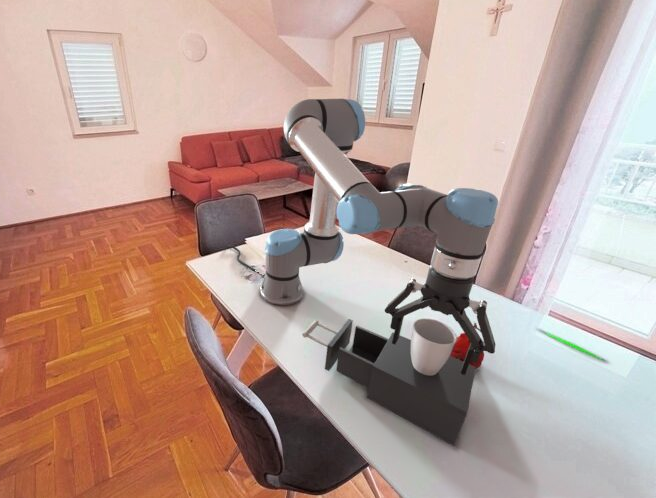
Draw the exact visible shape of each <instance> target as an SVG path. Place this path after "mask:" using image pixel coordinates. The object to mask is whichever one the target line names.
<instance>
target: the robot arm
mask: <svg viewBox="0 0 656 498" xmlns="http://www.w3.org/2000/svg"><path fill="white" fill-rule="evenodd" d="M365 128H366V115H365V111H364V109H363V107H362V105H361V104H360V103H359V102H358V101H357V100H356V99H355V100H354V99H349V98H307V99H304V100H301V101H299V102H297V103H295V104H294V105H293V106H292V107H291V108H290V109H289V111H287V114H286V115H285V118H284V122H283V133H284V135H283V136H284V137H285V140H286V142H287V144H288V145H289V146H290V148H291V149H293V150H294V151H295V152H299V154H300V155H301V156H302V157H303V158H304V160H305V161H306V162H307V163H308V165H309V166H310V167H311V169H312V170H313V171H314V179H313V187H312V196H311V204H310V213H309V215H310V216H309V220H308V221H307V222H306V223H305V224H304V229H303V232H300V231H299V230H297V229H294V228H281V229H277V230H274V231H272V232H271V233H270V234H269V235H268V236H267V238H266V240H265V241H266V242H265V249H264V250H265V273H263V274H264V275H263V276H262V277H263V279H262V282H261V285H260V296H261V298H262V299H263V300H264V301H266V302H267V303H269V304H272V305H276V306H291V305H294V304H296V303H298V302H299V301H301V300H302V298H303V295H304V287H303V284H302V282H301V277H300V268H303V267H308V266H309V267H310V266H315V265H321V264H328V263H330V262H335V261H337V260H339V258H340V257H341V256H342V254H343V251H344V247H345V245H344V244H345V243H344V240H343V239H344V237H343V235H342V233H341V231H340V229H341V230H342V231H343V232H345V233H346V234H348V235H365V234H366V235H368V234H372V233H377V232H383V231H388V230H395V229H402V228H409V227H416V226H417V227H420V228H422V229H425V230H427V231H429V232H431V233H434V234H437V236H436V240H435V245H434V248H433V253H432V256H431V260H430V265H429V269H428V272H427V275H426V280H425V283H424V284H422V283H419V282H417V279H415V278H413V277H412V278H410V280H408V283H407V284H406V286H405V288H404V289H403V290H402V291H401V292H399V294H397V296H395V297H394V298H393V299H392V300H391V301H390V302H389V303H388V304H387V305H386V306H385V308H384V312H385V313H386V314H389V315H391V321H390V326H389V327H390V329H392V330H394V331H393V333H394V336H393V340H392V344H396V342H397V340H398V339H399V335H400V336H401V330H402V326H403V322H404V318H405V317H406V316H407V315H409V314H411V313H414V312H417V311H419V310H424V309H425V308H428V307H429V308H430V310H431V311H434V312H439V313H441V314H443V315H445V316H451V315H452V317H453V319H454V320H455V322H457V323H458V325H459V327H460V328H461V330H462V331H463V333H465V334H466V336H467V338H468V339H469V341H470V342H471V343H470V346H469V349H468V351H467V354H466V357H465V360H464V363H463V365H462V370H461V374H463V375H465V374H466V371H467V368H468V365H469V363H470V361H472V362H474V363H476V362H478V359H479V356H480V354H481V353H482V351H484V352H486V353H488V354H494V353H495V352H496V341H495V338H494V334H493V331H492V327H491V324H490V321H489V318H488V313H487V306H488V302H487V301H486V300H484V299H482V300H480V301H477V300H473V299H470V294H471V291H472V288H473V285H474V282H475V276H476V275H477V273H478V269H479V266H480V263H481V262H482V261H481V260H482V258H483V253H484V249H485V246H486V244H487V241H488V239H489V236H490V232H491V229H492V227H493V226H494V224H495V222H496V221H495V220H496V218H495V217H496V213H497V208H498V205H499V199H498V197H497V195H495V194H493V193H492V192H489V191H486V190H482V189H475V188H471V187H469V188H468V187H458V188H457V187H456V188H453V189H451V190H450V191H449V192H448V194H447V193H444V192H441V191H437V190H434V189H431V188H428V187H427V186H424V185H422V184H414V183H404V184H402V185H400V186H399V187H397V188H396V189H395V190H392V191H381V192H380V191H379V190H378V189H377V188H376V187H375V186H374V185H373V184H372V182H371V181H369V180H368V179H367V178H366V176H365V175H364V174H363V173H362V172H361V171H360V169H358V168H357V167H356V165H355V164H354V163H353V162H352V161H351V160H350V159H349V157H347V155H348V153H349V152H351V151H353V149H354V148H353V147H354V142H357V141H358V140H360V139H361V137H362V136H363V135H364V132H365V130H366V129H365ZM336 220H338V226H339V227H338V226H337V225H336ZM339 228H340V229H339ZM226 248H227V249H229V248H232V249H234V250H235V251H237V253H238V254H237V256H236V261H237V262H238V263H239V264H241V265H242V266H244V267H246V268H248V269H250V270H251V271H253V270H257V269H256V268H254V267H252V266H250V265H249V264H247V263H245V262H244V261H242V260H240V256H241V250H240V249H239V248H238V247H236V246H234V245H231V244H230V245H227V247H226ZM251 267H252V268H251ZM418 291H419V292H420V293H421V295H422V296H420V297H419V298H418V299H416V300H414V301H411V302H409V303H407V304H405V305H402V306H400V307H398V306H399V305H400V304H402V303H403V302H404V301H405V300H406V299H407V298H408V297H409V296H410V295H411V294H414V293H415V294H416V292H418ZM467 308H470V309H471V310H472V312H473V313H474V314H475V315H476V320H477V324H478V328H479V329H480V330H481V332H480V334H481V336H482V337H481V336H480V334H479V333H478V331H477V329H475V328H474V324H473V322H472V321H471V320H470V318H469V317H468V315H467V313H466V310H465V309H467Z"/></svg>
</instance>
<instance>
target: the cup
mask: <svg viewBox="0 0 656 498" xmlns="http://www.w3.org/2000/svg"><path fill="white" fill-rule="evenodd" d="M410 336H411V337H410V340H411V359H412V364H413V367H414V368H415V369H416V370H417V371H418V372H420V373H422V374H424V375H429V376H432V375H435V374H436V373H437V372H438V371H439V370H440V369H441V368H442V367H443V366H444V364H445V363H446V361H447V360H448V358H449V356H450V354H451V352H452V350H453V347H454V345H455V342H456V340H457V337H458V336H457V333H456V332H455V330H454V329H453V328H452V327H450V326H449V325H448V324H446V323H444V322H442V321H439V320H436V319H433V318H419V319H416V320H415V321H414V322H413V325H412V330H411V335H410Z"/></svg>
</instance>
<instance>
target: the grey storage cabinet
mask: <svg viewBox="0 0 656 498" xmlns="http://www.w3.org/2000/svg"><path fill="white" fill-rule="evenodd" d="M393 336H394V331H393V332H391V334H390V336H389V337H388V338H387V339H388V341H387V343H386V344H385V346H384V348H383V350H382V351H381V353H380V355H379V357H378V358H377V360H376V362H375V364H374V365H373V369H372V374H371V380H370V385H369V388H368V390H367V395H366V398H367V399H369V400H370V401H372V402H374V403H376V404H378V405H379V406H381V407H383V408H385V409H386V410H388V411H390V412H392V413H393V414H396V415H397V416H399V417H401V418H403V419H405V420H407V421H408V422H410V423H412V424H413V425H415V426H417V427H419V428H421V429H422V430H424V431H426V432H428V433H430V434H432V435H433V436H435V437H437V438H439V439H440V440H442V441H444V442H445V443H447V444H449V445H451V446H452V447H455V445H456V443H457V440H458V437H459V435H460V433H461V430H462V427H463V424H464V423H465V420H466V417H467V414H468V411H469V406H470V401H471V397H472V389H473V385H474V379H475V375H476V370H477V369H476V367H475V366H472V365H470V364H469V365H468V368H467V371H466V374H465V375H463V374H461V370H462V365H463V363H464V362H463V361H460V360H458V359H456V358H453V357H451V356H449V358H448V360H447V361H446V363H445V364H444V366H443V367H442V368H441V369H440V370H439V371H438V372H437V373H436V374H435V375H432V376H429V375H424V374H422V373H420V372H418V371H417V370H416V369H415V368H414V367H413V364H412V359H411V338H407V337H405V336H403V335H401V334H400V335H399V339H398V340H397V342H396V344H392V340H393ZM475 369H476V370H475Z"/></svg>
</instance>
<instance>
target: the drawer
mask: <svg viewBox="0 0 656 498" xmlns="http://www.w3.org/2000/svg"><path fill="white" fill-rule="evenodd" d="M353 322H354V320H353V319H351V318H348V319H347V320H346V321H345V322H344V324H343V325H342V327H340V329H339V330H336V329H334V328H331V327H329V326H327V325H325V324H322V323H320V322H319V320H317V319H315V320H314V321H313V322H312V323H311V324H309V326H308V327H307V328H306V329H305V330H304V331H303V332H302V337H303V338H307V339H310V340H313V341H314V342H316V343H318V344H320V345H321V346H324V347H326V355H325V363H324V370H326V371H327V372H330V371H331V369H332V368H333V366H334V365H335V364H336V371H335V372H337V373H340V374H341V375H343V376H345V377H347V378H349V379H351V380H352V381H354V382H356V383H357V384H358V383H359V384H360V385H361V386H364V387H365V388H367V389H369V385H370V380H371V374H372V369H373V365H374V364H375V362H376V360H377V358H378V357H379V355H380V353H381V351H382V350H383V348H384V346H385V344H386V343H387V341H388V339H389V338H387V337H385V336H383V335H380V334H378V333H376V332H373V331H371V330H369V329H366V328H364V327H362V326H359V325H356V326H355V328H354V335H353V341H352V345H351V347H350V349H349V350H347V349H346V348H347V347H348V346H349V344H350V342H351V335H352V328H353ZM317 326H318V327H320V328H322V329H325V330H327V331H328V332H331V333H333V334H335V335H334V336H333V337H332V339H331V340H330V341H329V343H327V342H325V341H323V340H321V339H319V338H317V337H315V336H312V335H311V333H313V331H314V330H315V329H316V328H317Z"/></svg>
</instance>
